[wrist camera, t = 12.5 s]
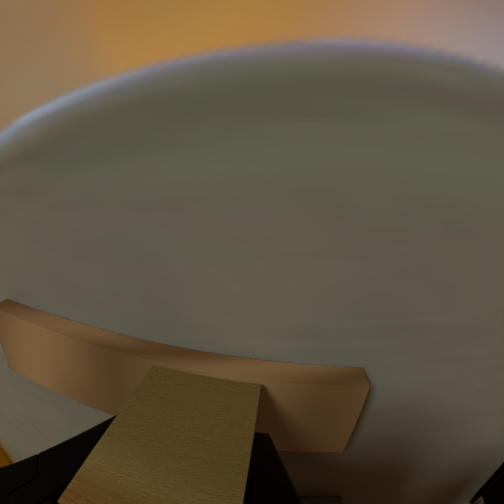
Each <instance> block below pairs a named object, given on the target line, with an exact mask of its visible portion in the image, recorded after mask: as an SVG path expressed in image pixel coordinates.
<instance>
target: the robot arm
mask: <svg viewBox="0 0 504 504" xmlns="http://www.w3.org/2000/svg"><path fill="white" fill-rule="evenodd" d="M117 415H118V414H117ZM117 415H115V416H113V417H112V418H110V419H108V420H106V421H104V422H102V423H100V424H98V425H96V426H94V427H92V428H91V429H89V430H87V431H85V432H83V433H81V434H79V435H77V436H75V437H73V438H70V439H68V440H66V441H64V442H62V443H60V444H58V445H56V446H54V447H52V448H49V449H47V450H45V451H43V452H41V453H39V455H38V454H36V455H34V456H31V457H29V458H27V459H24V460H22V461H19V462H16V463H14V464H10V465H7V466H4V467H1V468H0V504H59V503H58V502H57V501H58V500H59V498H60V497H61V495H62V494H63V492H64V491H65V489H66V488H67V486H68V485H69V483H70V482H71V480H72V479H73V478H74V476H75V475H76V473H77V472H78V470H79V469H80V467H81V466H82V465H83V463H84V462H85V460H86V459H87V457H88V456H89V454H90V453H91V452H92V450H93V449H94V447H95V446H96V444H97V443H98V442H99V440H100V439H101V437H102V436H103V434H104V433H105V432H106V430H107V429H108V427H109V426H110V424H111V423H112V422H113V420H114V419H115V417H116V416H117ZM483 502H484V503H485V504H504V465H503V467H502V468H501V469H500V470H499V471H498V473H497V474H496V475H495V476H494V477H493V478H492V479H491V481H490V482H489V483H488V484H487V485H486V486H485V487H484V488H483V489H482V490H481V491H480V493H479V494H478V495H477V496H476V497H475V498H474V499H473V500H472V501H471V504H480V503H483ZM243 504H302V502H301V500H300V498H299V496H298V494H297V492H296V490H295V488H294V486H293V484H292V482H291V480H290V478H289V475H288V473H287V471H286V469H285V467H284V465H283V463H282V460H281V458H280V456H279V454H278V452H277V450H276V447H275V445H274V443H273V441H272V438H271V436H270V435H269V434H267V433H259V432H256V433H254V437H253V443H252V450H251V456H250V463H249V469H248V475H247V482H246V488H245V494H244V501H243Z"/></svg>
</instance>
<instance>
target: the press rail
mask: <svg viewBox="0 0 504 504" xmlns="http://www.w3.org/2000/svg"><path fill="white" fill-rule="evenodd" d="M0 341H1V344H2V348H3V351H4V354H5V357H6V361H7V364H8V367H9V368H11V369H13V370H15V371H16V372H18V373H20V374H22V375H24V376H25V377H27V378H29V379H31V380H33V381H35V382H37V383H39V384H41V385H43V386H45V387H47V388H49V389H51V390H53V391H55V392H57V393H59V394H62V395H64V396H66V397H68V398H70V399H73V400H75V401H77V402H80V403H82V404H85V405H87V406H90V407H92V408H95V409H97V410H100V411H103V412H105V413H108V414H111V415H114V416H115V415H117V414H118V413H119V412H120V410H121V409H122V407H123V406H124V405H125V403H126V402H127V400H128V399H129V398H130V396H131V395H132V393H133V392H134V391H135V389H136V388H137V386H138V385H139V384H140V382H141V381H142V379H143V378H144V377H145V375H146V374H147V372H148V371H149V370H150V368H151V367H152V365H154V366H159V367H163V368H167V369H172V370H177V371H181V372H186V373H192V374H197V375H202V376H208V377H214V378H220V379H226V380H232V381H239V382H246V383H254V384H261V388H260V395H259V402H258V409H257V416H256V423H255V430H254V433H256V432H259V433H267V434H269V435H270V436H271V438H272V441H273V443H274V445H275V447H276V450H279V451H294V452H319V453H343V451H344V449H345V447H346V445H347V443H348V440H349V438H350V436H351V434H352V431H353V429H354V427H355V424H356V422H357V420H358V417H359V415H360V412H361V410H362V407H363V405H364V402H365V399H366V397H367V394H368V391H369V389H370V385H369V382H368V379H367V377H366V374H365V372H364V369H363V368H357V367H334V366H318V365H305V364H293V363H283V362H273V361H264V360H256V359H248V358H241V357H234V356H227V355H220V354H214V353H208V352H202V351H196V350H191V349H185V348H180V347H175V346H170V345H165V344H160V343H155V342H151V341H146V340H142V339H138V338H133V337H129V336H125V335H121V334H117V333H113V332H109V331H105V330H102V329H98V328H94V327H91V326H87V325H84V324H80V323H77V322H74V321H70V320H67V319H64V318H61V317H58V316H54V315H51V314H48V313H45V312H42V311H39V310H37V309H34V308H31V307H28V306H25V305H23V304H20V303H17V302H14V301H12V300H9V299H6V300H4V301H2V302H0Z"/></svg>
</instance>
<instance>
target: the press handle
mask: <svg viewBox="0 0 504 504" xmlns="http://www.w3.org/2000/svg"><path fill="white" fill-rule="evenodd" d="M260 388H261V384H254V383H246V382H239V381H232V380H226V379H220V378H214V377H208V376H202V375H197V374H192V373H186V372H181V371H177V370H172V369H167V368H163V367H159V366H154V365H152V367H151V368H150V370H149V371H148V372H147V374H146V375H145V377H144V378H143V379H142V381H141V382H140V384H139V385H138V386H137V388H136V389H135V391H134V392H133V393H132V395H131V396H130V398H129V399H128V400H127V402H126V403H125V405H124V406H123V407H122V409H121V410H120V412H119V413H118V415H117V416H116V417H115V419H114V420H113V422H112V423H111V424H110V426H109V427H108V429H107V430H106V432H105V433H104V434H103V436H102V437H101V439H100V440H99V442H98V443H97V444H96V446H95V447H94V449H93V450H92V452H91V453H90V454H89V456H88V457H87V459H86V460H85V462H84V463H83V465H82V466H81V467H80V469H79V470H78V472H77V473H76V475H75V476H74V478H73V479H72V480H71V482H70V483H69V485H68V486H67V488H66V489H65V491H64V492H63V494H62V495H61V497H60V498H59V500H58V501H57V502H58V503H59V504H243V500H244V494H245V488H246V482H247V475H248V469H249V463H250V456H251V450H252V443H253V437H254V430H255V423H256V416H257V409H258V402H259V395H260Z"/></svg>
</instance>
